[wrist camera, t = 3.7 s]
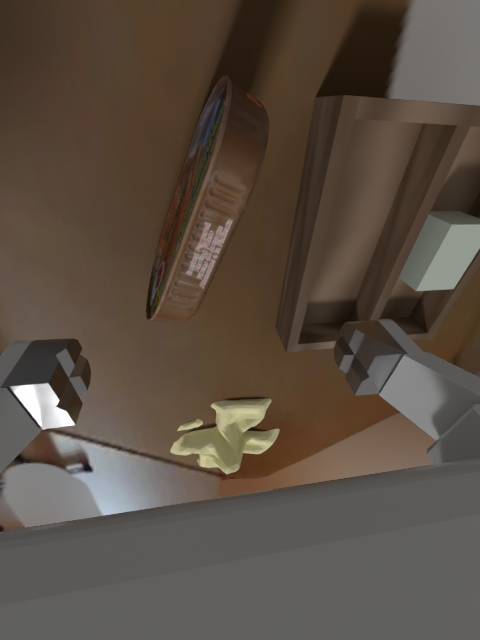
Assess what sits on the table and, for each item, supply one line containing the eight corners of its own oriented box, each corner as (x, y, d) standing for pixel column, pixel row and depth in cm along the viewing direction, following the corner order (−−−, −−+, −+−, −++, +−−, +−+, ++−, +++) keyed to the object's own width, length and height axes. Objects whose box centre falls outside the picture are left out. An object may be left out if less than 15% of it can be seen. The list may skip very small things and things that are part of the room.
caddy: (275, 327, 30) (286, 352, 27) (315, 97, 18) (344, 94, 15) (407, 317, 33) (430, 339, 30) (522, 112, 20) (582, 114, 17)
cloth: (257, 378, 36) (268, 418, 31) (296, 432, 48) (309, 467, 43) (123, 437, 40) (114, 482, 35) (189, 474, 51) (190, 511, 46)
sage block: (392, 272, 27) (416, 291, 24) (420, 211, 23) (452, 224, 20) (426, 271, 27) (453, 289, 25) (459, 211, 24) (495, 224, 21)
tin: (211, 77, 16) (230, 58, 10) (255, 107, 18) (298, 107, 11) (146, 279, 24) (134, 343, 17) (181, 289, 25) (180, 353, 19)
